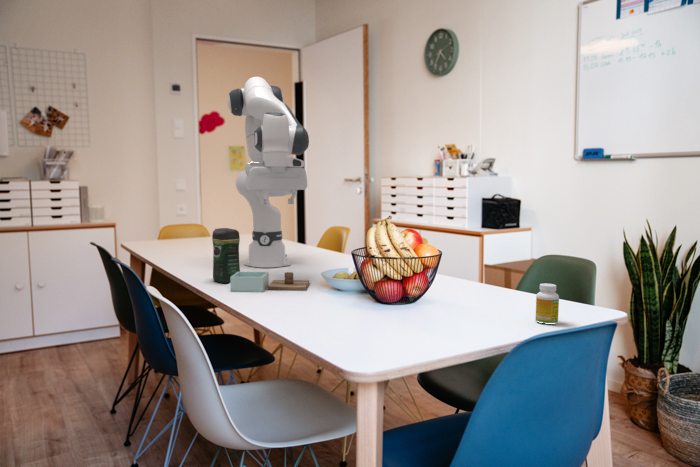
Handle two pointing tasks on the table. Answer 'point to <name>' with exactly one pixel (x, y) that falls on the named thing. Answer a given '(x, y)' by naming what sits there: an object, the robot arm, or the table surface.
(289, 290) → the mat
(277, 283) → the lid
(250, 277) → the mint green open box
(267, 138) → the robot arm
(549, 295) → the supplement bottle
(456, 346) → the table surface
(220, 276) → the coffee jar
